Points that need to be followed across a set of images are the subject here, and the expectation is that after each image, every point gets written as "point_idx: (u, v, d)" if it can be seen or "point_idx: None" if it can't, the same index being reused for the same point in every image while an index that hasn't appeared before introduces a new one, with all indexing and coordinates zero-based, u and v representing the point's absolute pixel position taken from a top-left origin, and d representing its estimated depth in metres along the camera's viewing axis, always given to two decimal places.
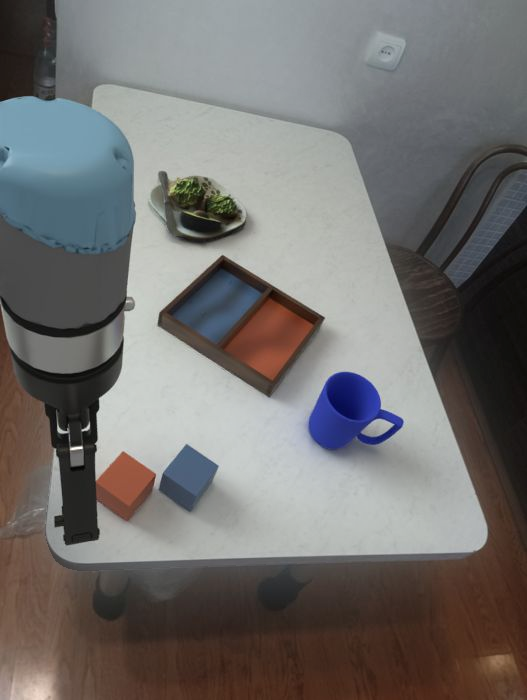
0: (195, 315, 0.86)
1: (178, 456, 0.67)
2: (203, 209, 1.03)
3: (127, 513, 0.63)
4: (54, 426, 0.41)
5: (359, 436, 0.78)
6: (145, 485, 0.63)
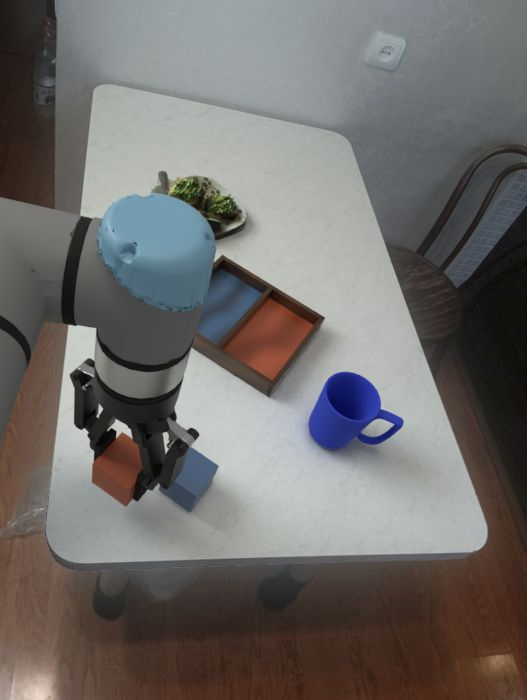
0: None
1: None
2: (203, 209, 1.03)
3: (126, 497, 0.59)
4: (143, 435, 0.50)
5: (359, 436, 0.78)
6: None
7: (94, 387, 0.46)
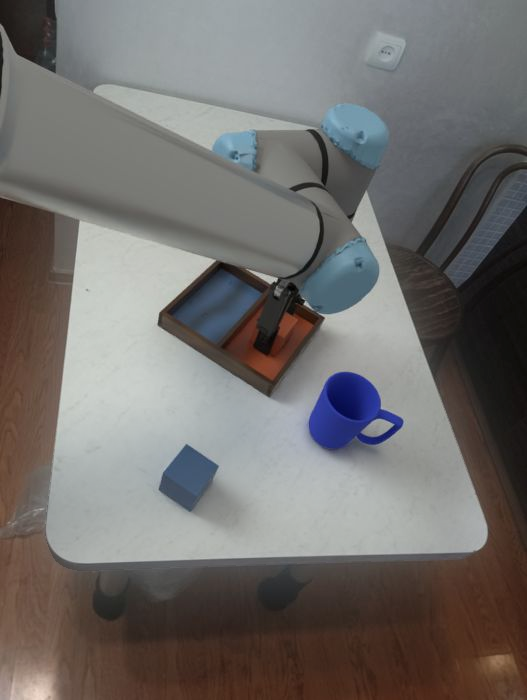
0: (195, 315, 0.86)
1: (178, 456, 0.67)
2: None
3: (293, 329, 0.86)
4: None
5: (359, 436, 0.78)
6: None
7: None
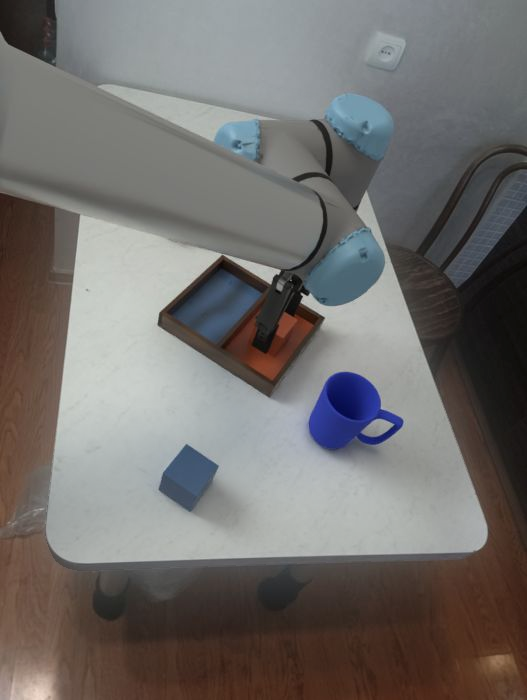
0: (195, 315, 0.86)
1: (178, 456, 0.67)
2: None
3: None
4: None
5: (359, 436, 0.78)
6: None
7: None
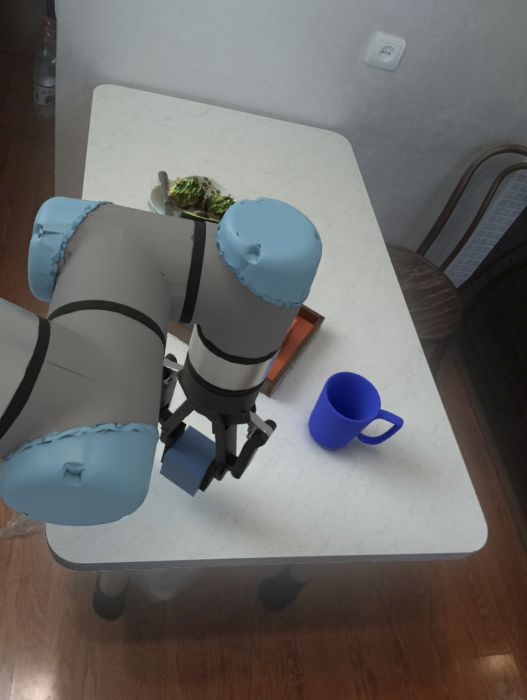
0: None
1: (181, 437, 0.63)
2: (203, 209, 1.03)
3: None
4: (223, 427, 0.53)
5: (359, 436, 0.78)
6: None
7: (184, 380, 0.49)
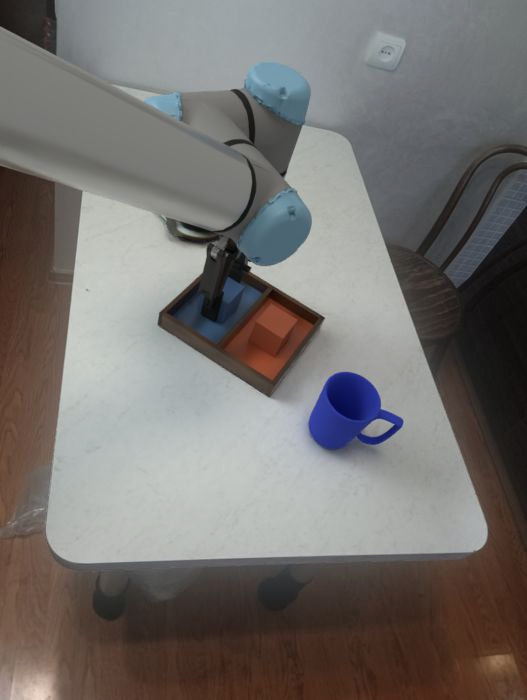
0: (195, 315, 0.86)
1: None
2: None
3: None
4: None
5: (359, 436, 0.78)
6: (281, 310, 0.85)
7: None
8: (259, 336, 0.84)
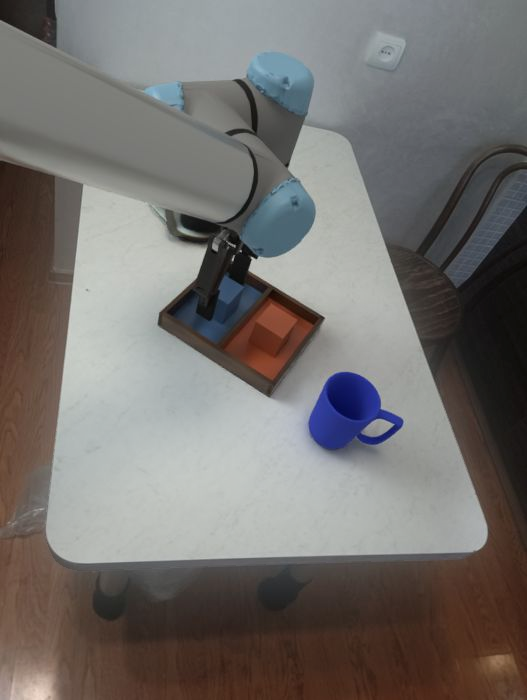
0: (195, 315, 0.86)
1: None
2: None
3: None
4: None
5: (359, 436, 0.78)
6: (281, 310, 0.85)
7: None
8: (259, 336, 0.84)
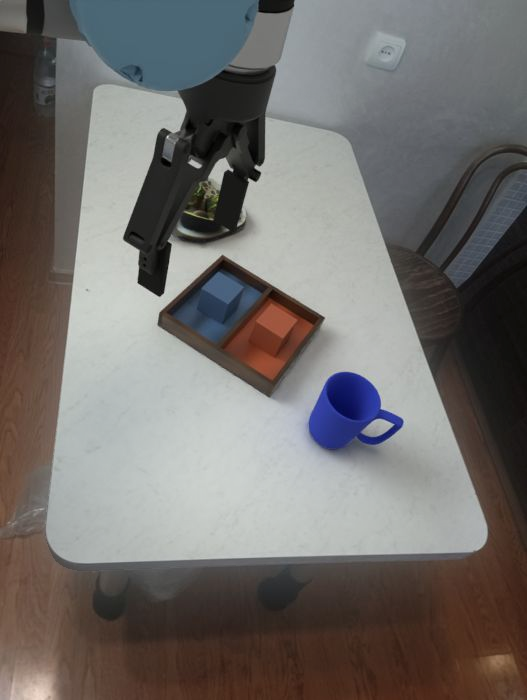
0: (195, 315, 0.86)
1: (213, 293, 0.83)
2: (203, 209, 1.03)
3: None
4: None
5: (359, 436, 0.78)
6: (281, 310, 0.85)
7: (239, 109, 0.41)
8: (259, 336, 0.84)
